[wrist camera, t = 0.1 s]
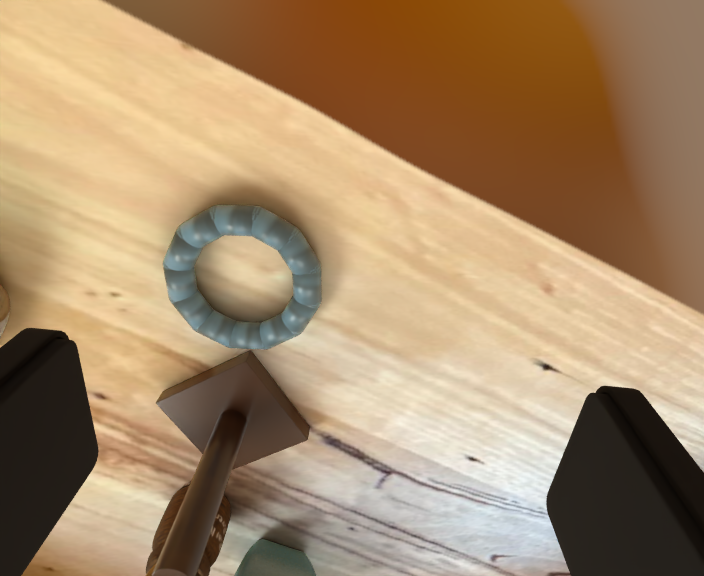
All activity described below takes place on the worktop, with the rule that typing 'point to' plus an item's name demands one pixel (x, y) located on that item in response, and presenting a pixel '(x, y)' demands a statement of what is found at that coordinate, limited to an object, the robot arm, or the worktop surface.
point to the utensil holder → (213, 541)
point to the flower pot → (274, 561)
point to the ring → (268, 231)
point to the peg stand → (222, 445)
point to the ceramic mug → (4, 309)
